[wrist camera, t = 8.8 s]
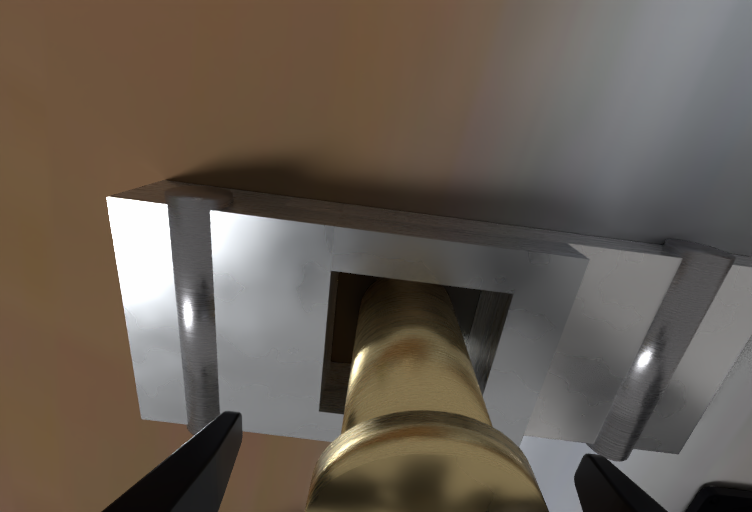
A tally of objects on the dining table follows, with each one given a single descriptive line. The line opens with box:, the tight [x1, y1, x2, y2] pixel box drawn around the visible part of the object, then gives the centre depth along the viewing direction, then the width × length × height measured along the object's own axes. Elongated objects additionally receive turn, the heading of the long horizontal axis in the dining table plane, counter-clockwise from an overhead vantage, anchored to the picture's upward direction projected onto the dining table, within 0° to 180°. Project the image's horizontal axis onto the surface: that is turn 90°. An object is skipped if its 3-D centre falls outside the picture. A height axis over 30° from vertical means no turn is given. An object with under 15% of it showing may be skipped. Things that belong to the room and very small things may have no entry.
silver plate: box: [107, 180, 752, 461], centre depth 14 cm, size 23×10×3 cm, turn 83°
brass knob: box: [305, 277, 549, 512], centre depth 11 cm, size 5×5×9 cm
